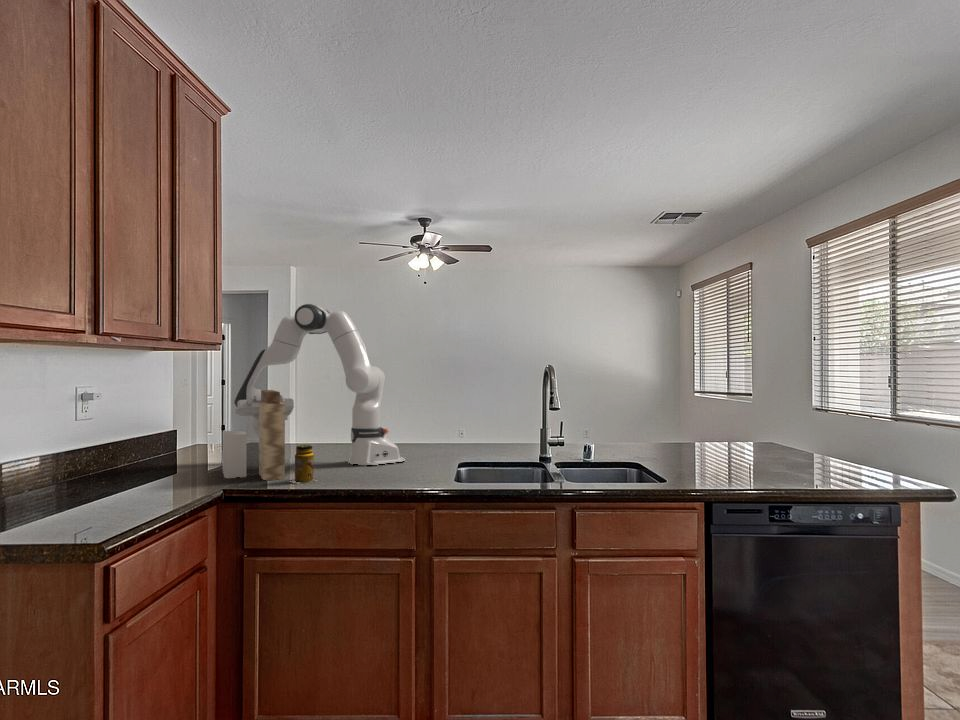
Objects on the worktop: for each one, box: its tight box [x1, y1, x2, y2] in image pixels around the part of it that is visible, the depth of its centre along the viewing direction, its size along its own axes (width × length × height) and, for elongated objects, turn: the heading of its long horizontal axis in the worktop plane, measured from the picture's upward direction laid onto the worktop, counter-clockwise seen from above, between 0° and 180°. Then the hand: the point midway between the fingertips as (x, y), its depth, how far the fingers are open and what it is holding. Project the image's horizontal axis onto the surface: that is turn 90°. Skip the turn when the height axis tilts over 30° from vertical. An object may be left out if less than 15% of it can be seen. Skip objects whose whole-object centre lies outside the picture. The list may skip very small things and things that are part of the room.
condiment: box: [286, 444, 318, 485], centre depth 202 cm, size 7×8×12 cm
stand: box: [258, 402, 286, 481], centre depth 211 cm, size 7×13×26 cm, turn 26°
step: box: [222, 429, 248, 479], centre depth 216 cm, size 7×15×15 cm, turn 26°
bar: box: [260, 389, 281, 404], centre depth 215 cm, size 4×20×4 cm, turn 26°
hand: (267, 397), depth 222 cm, fingers open, 8 cm apart
